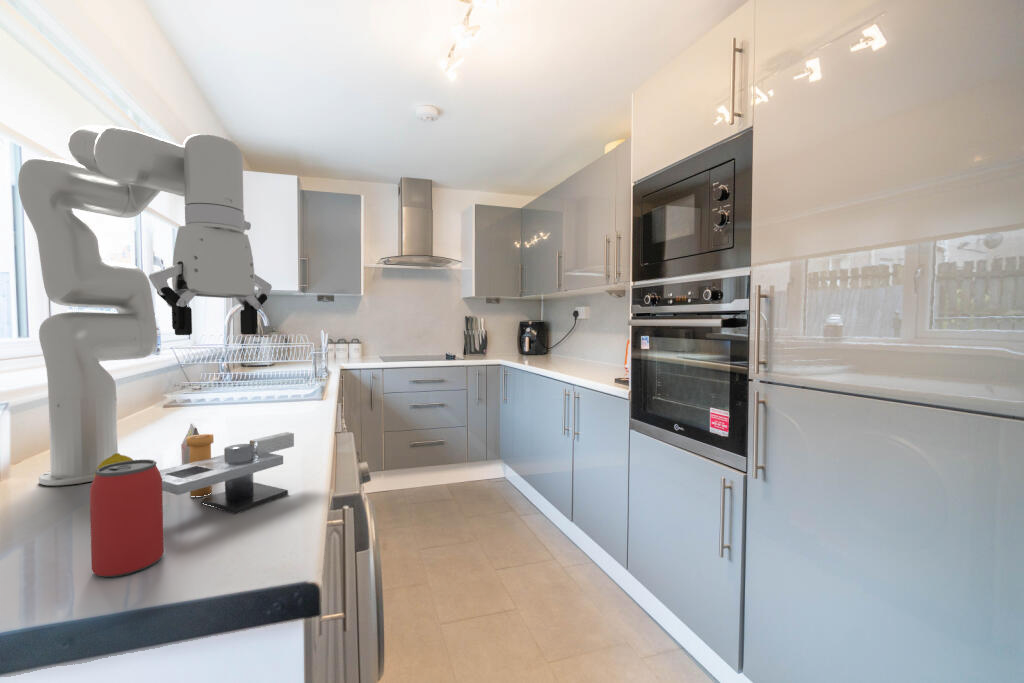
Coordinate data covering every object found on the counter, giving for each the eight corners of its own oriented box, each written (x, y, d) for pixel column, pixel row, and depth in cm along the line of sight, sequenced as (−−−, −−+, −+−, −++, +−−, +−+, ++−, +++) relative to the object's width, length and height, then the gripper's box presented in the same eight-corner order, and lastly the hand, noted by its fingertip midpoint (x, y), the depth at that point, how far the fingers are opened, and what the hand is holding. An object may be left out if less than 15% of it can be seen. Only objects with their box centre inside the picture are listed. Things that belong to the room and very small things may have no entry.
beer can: (121, 552, 57) (118, 458, 57) (176, 550, 58) (174, 457, 58) (75, 581, 51) (72, 475, 50) (138, 578, 51) (135, 473, 51)
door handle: (142, 522, 66) (140, 458, 66) (273, 479, 85) (272, 430, 85) (179, 535, 62) (177, 467, 62) (309, 487, 81) (308, 435, 81)
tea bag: (204, 471, 91) (203, 421, 91) (209, 479, 86) (207, 426, 85) (182, 474, 88) (180, 424, 88) (185, 483, 83) (183, 429, 83)
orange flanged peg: (182, 496, 77) (181, 437, 77) (206, 489, 80) (205, 433, 80) (195, 500, 75) (194, 440, 75) (219, 492, 78) (218, 435, 78)
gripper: (254, 235, 78) (256, 334, 79) (135, 212, 63) (138, 335, 63) (283, 230, 75) (285, 334, 75) (164, 205, 60) (167, 335, 60)
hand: (218, 334), depth 69 cm, fingers open, 9 cm apart
